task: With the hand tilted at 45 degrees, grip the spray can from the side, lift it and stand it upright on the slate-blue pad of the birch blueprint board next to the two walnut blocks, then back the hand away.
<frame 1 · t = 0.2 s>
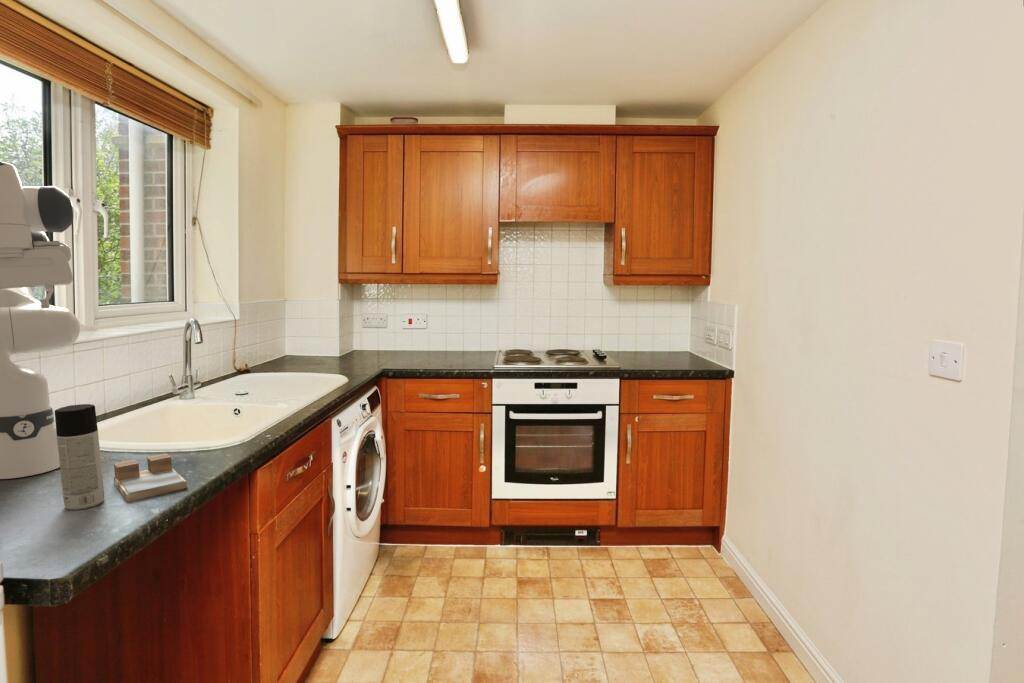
hand: (16, 310, 120), 39 cm above the countertop, tool pointing down, fingers open, 8 cm apart
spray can: (85, 505, 119), on the countertop
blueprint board: (150, 485, 129), on the countertop
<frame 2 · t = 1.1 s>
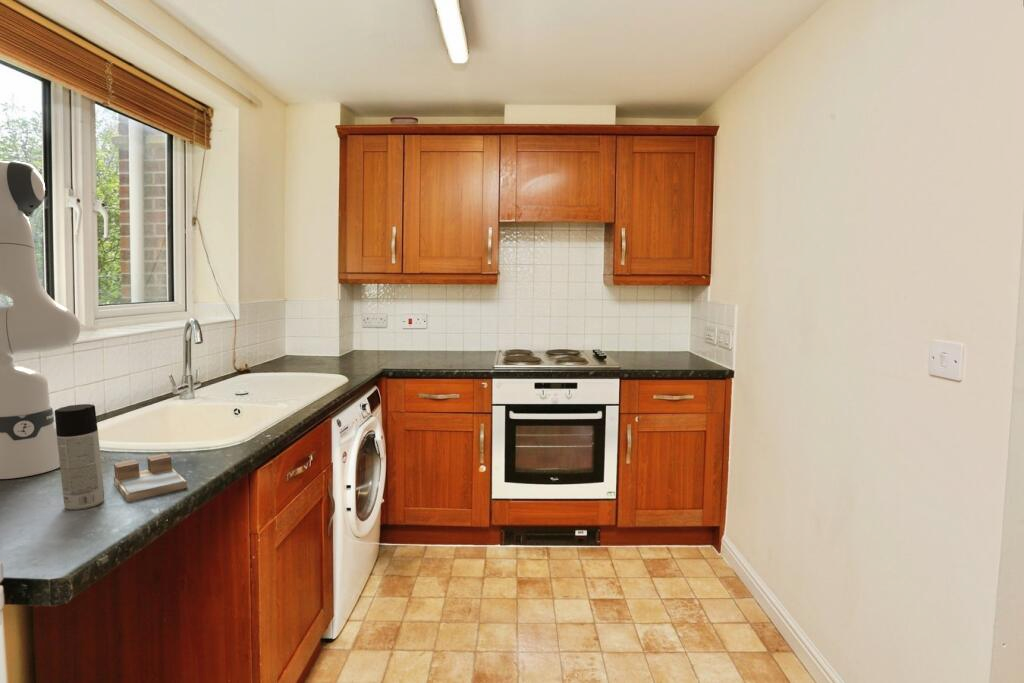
hand: (1, 361, 108), 30 cm above the countertop, tool tilted 45°, fingers open, 8 cm apart
nothing on the countertop moved.
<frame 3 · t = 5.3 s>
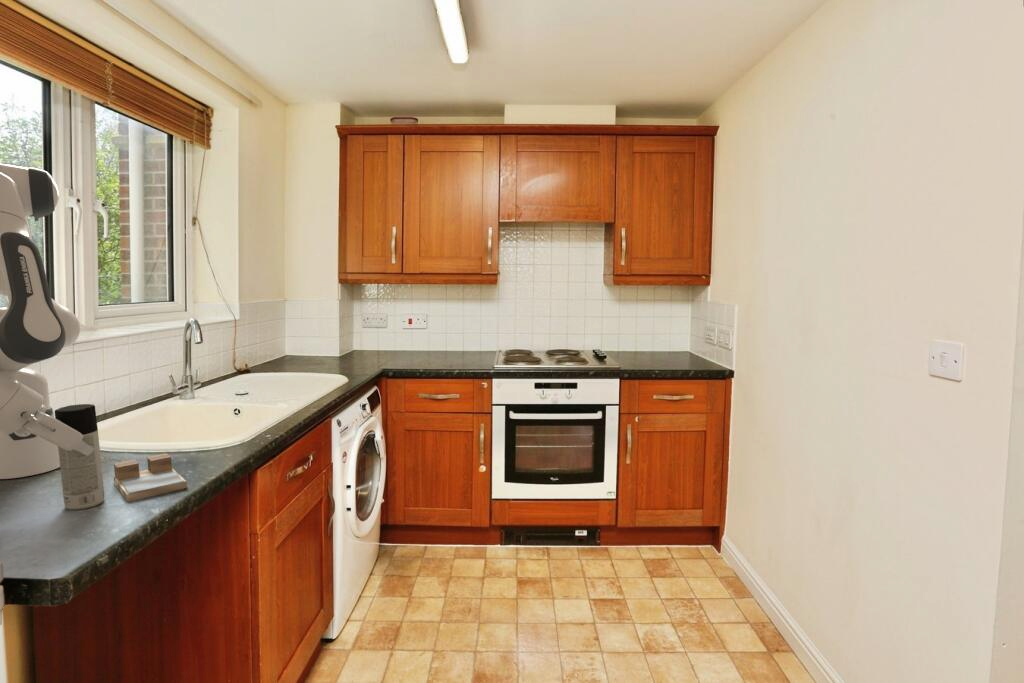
hand: (83, 448, 118), 11 cm above the countertop, tool tilted 45°, fingers closed on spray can, 7 cm apart
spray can: (85, 505, 119), on the countertop, touching gripper
when the fingers open (14 cm above the countertop, at t = 13.1 s): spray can stays where it is, resting on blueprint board.
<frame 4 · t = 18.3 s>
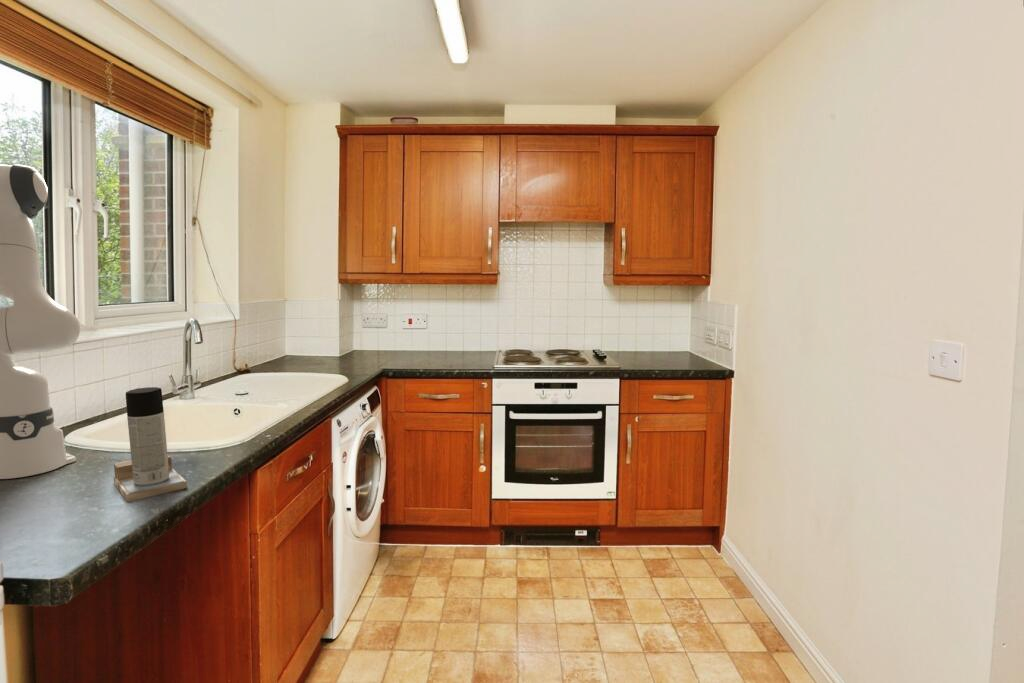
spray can: (151, 482, 127), point 2 cm above the countertop, touching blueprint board
at the end: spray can inside the target area (0.2 cm from its centre), point 1.5 cm above the countertop; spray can tilted 0°; the gripper is holding nothing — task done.
